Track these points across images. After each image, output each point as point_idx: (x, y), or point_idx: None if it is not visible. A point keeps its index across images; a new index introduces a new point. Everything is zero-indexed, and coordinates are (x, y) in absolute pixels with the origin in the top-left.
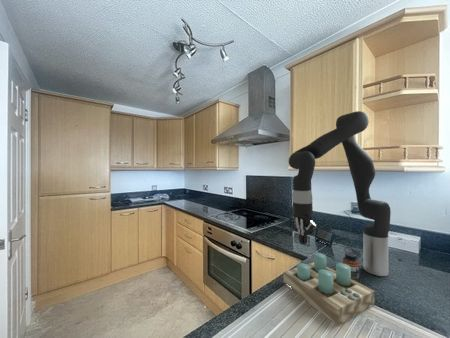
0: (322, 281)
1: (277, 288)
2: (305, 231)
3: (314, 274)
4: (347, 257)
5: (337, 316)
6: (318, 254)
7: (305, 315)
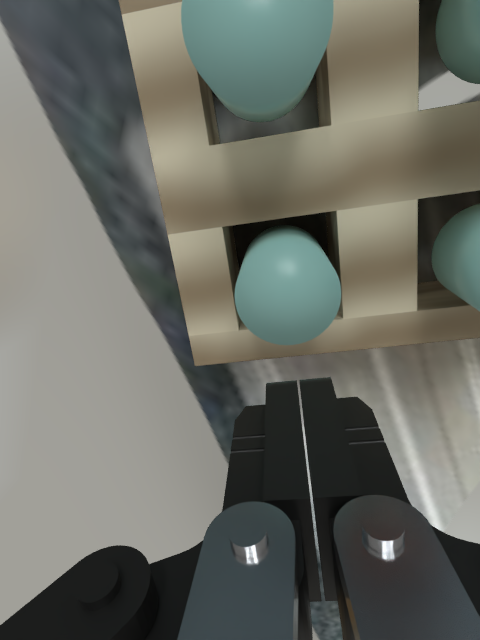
0: None
1: (233, 385)
2: (386, 615)
3: (298, 175)
4: None
5: None
6: (226, 18)
7: (443, 381)
